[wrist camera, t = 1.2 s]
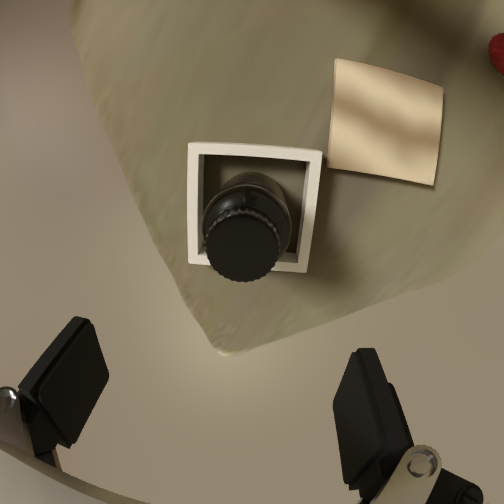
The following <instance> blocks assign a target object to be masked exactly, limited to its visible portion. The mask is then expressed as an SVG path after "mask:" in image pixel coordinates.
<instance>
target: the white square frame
mask: <svg viewBox="0 0 504 504" xmlns="http://www.w3.org/2000/svg"><path fill="white" fill-rule="evenodd" d="M204 154H216V155H238V156H254V157H268V158H280V159H291V160H300V161H307V163H306V173H305V182H304V191H303V200H302V209H301V218H300V226H299V234H298V242H297V249H296V253H290V252H285V253H284V254H283V255H282V256H281V258H280V259H279V260H278V261H277V262H276V263H275V266H274V267H273V268H272V269H271V270H274V271H287V272H300V273H306V272H307V266H308V260H309V253H310V247H311V240H312V233H313V226H314V219H315V211H316V204H317V196H318V187H319V179H320V170H321V161H322V152H321V151H319V150H313V149H305V148H295V147H285V146H274V145H261V144H245V143H224V142H191V143H188V176H187V224H188V263H192V264H203V265H210V261H209V260H208V259H207V254H206V252H205V250H206V247H205V246H203V238H202V231H201V224H202V218H203V184H204Z"/></svg>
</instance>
